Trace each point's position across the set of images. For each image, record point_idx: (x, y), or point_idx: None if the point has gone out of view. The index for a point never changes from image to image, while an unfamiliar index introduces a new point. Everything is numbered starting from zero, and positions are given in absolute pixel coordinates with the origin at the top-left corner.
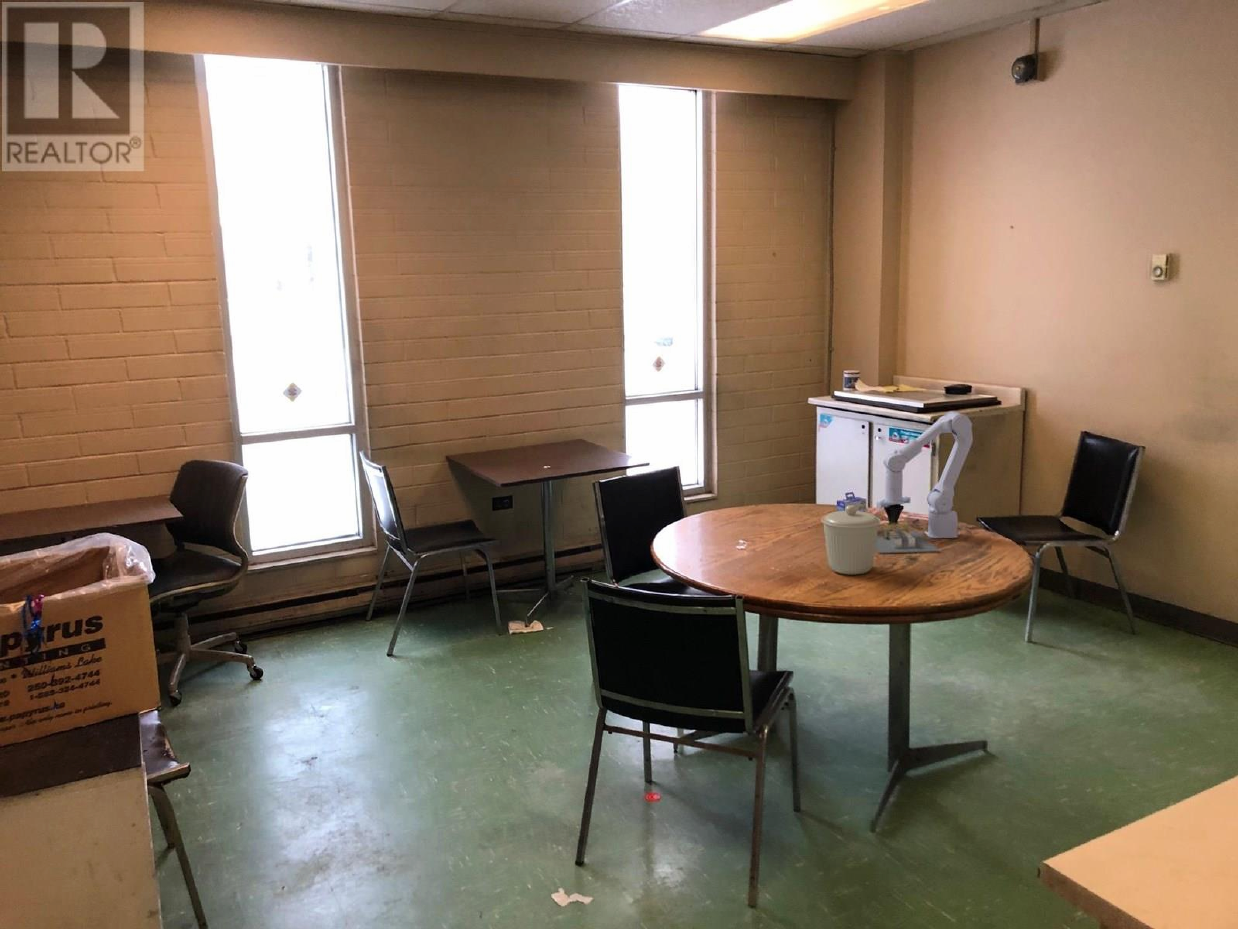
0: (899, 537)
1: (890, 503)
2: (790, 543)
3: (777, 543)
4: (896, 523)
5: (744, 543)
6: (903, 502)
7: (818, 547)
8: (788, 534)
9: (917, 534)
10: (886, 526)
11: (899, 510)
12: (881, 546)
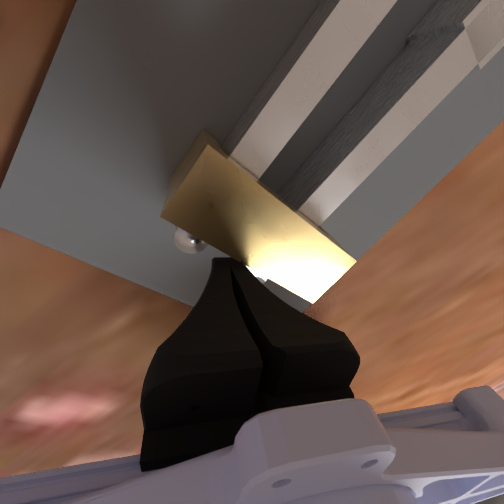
0: (467, 24)
1: (453, 450)
2: (473, 351)
3: (482, 362)
4: (266, 239)
5: (499, 385)
6: (276, 445)
7: (496, 293)
8: (394, 402)
9: (57, 159)
10: (342, 248)
11: (236, 332)
12: (448, 131)
